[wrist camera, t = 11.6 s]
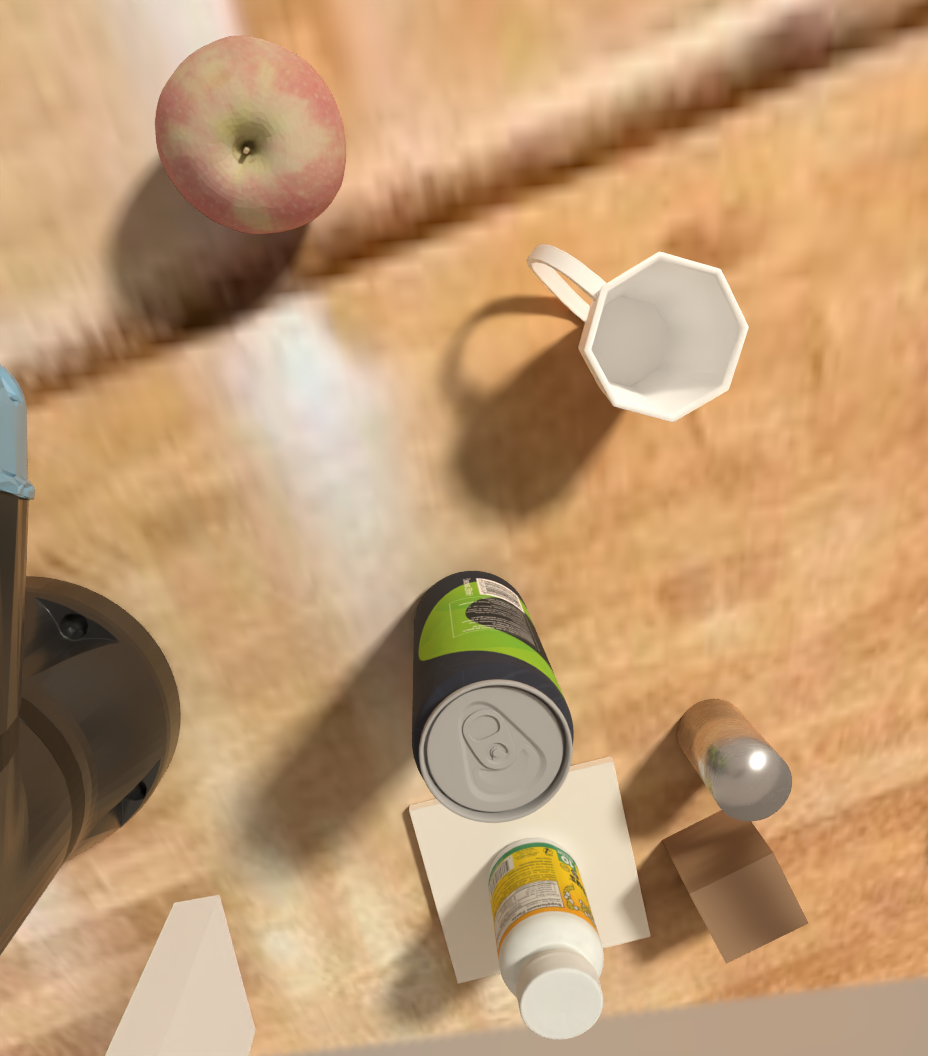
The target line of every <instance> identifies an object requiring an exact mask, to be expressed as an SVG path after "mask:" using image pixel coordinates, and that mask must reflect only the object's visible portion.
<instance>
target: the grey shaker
mask: <svg viewBox="0 0 928 1056" xmlns="http://www.w3.org/2000/svg"><path fill="white" fill-rule="evenodd" d="M677 738H678V743H679V745H680V747H681V749H682V751H683V752H684V754H685V755H686V757H687V758H688V760H689V761H690V763H691V764H692V766H693V767H694V769H695V770H696V772H697V773H698V775H699V776H700V778H701V779H702V781H703V782H704V784H705V785H706V787H707V788H708V790H709V791H710V793H711V794H712V796H713V797H714V799H715V801H716V802H717V804H718V805H719V807H720V808H721V809H722V810H723V811H724V812H725V813H726V814H727V815H729V816H730V817H732V818H734V819H737V820H741V821H757V820H761V819H764V818H767V817H769V816H771V815H772V814H774V813H775V812H777V811H778V810H779V809H780V808H781V807H782V806H783V805H784V803H785V802H786V800H787V799H788V796H789V794H790V791H791V787H792V776H791V772H790V770H789V767H788V766H787V764H786V763H785V761H784V760H783V759H782V758H781V757H780V756H779V755H778V753H777V752H776V751H775V750H774V749H773V748H772V747H771V746H770V745H769V743H768V742H767V741H766V740H765V739H764V738H763V737H762V736H761V734H760V733H759V732H758V731H757V730H756V729H755V728H754V727H753V726H752V724H751V723H750V722H749V721H748V720H747V719H746V718H745V717H744V715H743V714H742V713H741V712H740V711H739V710H738V709H737V708H736V707H735V706H734V705H732V704H731V703H729V702H727V701H724V700H719V699H709V700H704V701H701V702H699V703H697V704H695V705H693V706H692V707H691V708H689V709H688V710H687V711H686V712H685V714H684V715H683V716H682V718H681V720H680V722H679V725H678V729H677Z"/></svg>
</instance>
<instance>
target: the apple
mask: <svg viewBox="0 0 928 1056" xmlns="http://www.w3.org/2000/svg"><path fill="white" fill-rule="evenodd" d="M155 131H156V143H157V149H158V153H159V156H160V159H161V162H162V164H163V166H164V168H165V170H166V172H167V174H168V176H169V178H170V179H171V181H172V182H173V184H174V185H175V186H176V188H177V189H178V190H179V192H180V193H181V194H182V195H183V197H184V198H185V199H186V200H187V201H188V202H190V203H191V204H192V205H193V206H194V207H195V208H197V209H198V210H199V211H201V212H202V213H203V214H204V215H206V216H207V217H208V218H210V219H211V220H213V221H215V222H217V223H219V224H221V225H223V226H226V227H228V228H231V229H234V230H236V231H240V232H244V233H248V234H267V233H278V232H284V231H288V230H292V229H295V228H299V227H301V226H303V225H305V224H307V223H309V222H310V221H312V220H314V219H315V218H317V217H318V216H319V215H320V214H321V213H322V212H323V211H325V210H326V209H327V207H328V206H329V205H330V204H331V202H332V201H333V199H334V198H335V196H336V194H337V193H338V191H339V189H340V187H341V184H342V181H343V176H344V170H345V163H346V140H345V133H344V127H343V122H342V118H341V115H340V112H339V109H338V107H337V104H336V102H335V100H334V97H333V95H332V93H331V91H330V90H329V88H328V86H327V85H326V84H325V82H324V81H323V79H322V78H321V77H320V75H319V74H318V73H317V72H316V70H315V69H314V68H313V67H312V66H311V65H310V64H309V63H308V62H306V61H305V60H304V59H302V58H301V57H300V56H298V55H297V54H295V53H293V52H292V51H290V50H288V49H286V48H284V47H282V46H280V45H277V44H275V43H272V42H269V41H266V40H263V39H260V38H255V37H249V36H229V37H226V38H223V39H220V40H217V41H214V42H212V43H210V44H208V45H206V46H203V47H202V48H200V49H198V50H197V51H195V52H194V53H192V54H191V55H190V56H188V57H187V58H186V59H185V60H184V61H183V62H182V63H181V64H180V65H179V67H178V68H177V69H176V70H175V72H174V73H173V74H172V76H171V77H170V79H169V80H168V82H167V83H166V85H165V86H164V88H163V90H162V92H161V95H160V97H159V101H158V105H157V110H156V118H155Z"/></svg>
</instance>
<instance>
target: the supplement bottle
mask: <svg viewBox="0 0 928 1056" xmlns="http://www.w3.org/2000/svg"><path fill="white" fill-rule="evenodd" d="M488 887H489V895H490V902H491V909H492V916H493V923H494V931H495V938H496V946H497V953H498V961H499V967H500V972H501V975H502V978H503V980H504V982H505V984H506V986H507V987H508V989H509V990H510V991H511V992H512V993H513V994H514V995H515V996H516V997H517V1000H518V1004H519V1009H520V1013H521V1017H522V1019H523V1021H524V1023H525V1024H526V1025H527V1027H528V1028H529V1029H530V1030H532V1031H533V1032H534V1033H536V1034H538V1035H540V1036H542V1037H544V1038H549V1039H556V1040H558V1039H561V1040H562V1039H569V1038H572V1037H575V1036H578V1035H580V1034H582V1033H584V1032H585V1031H587V1030H588V1029H589V1028H591V1027H592V1026H593V1025H594V1024H595V1022H596V1021H597V1019H598V1018H599V1016H600V1014H601V1011H602V1007H603V995H602V990H601V986H600V982H599V978H600V975H601V972H602V968H603V962H604V955H603V947H602V943H601V940H600V937H599V934H598V930H597V927H596V924H595V921H594V918H593V915H592V911H591V908H590V905H589V901H588V899H587V895H586V892H585V889H584V885H583V882H582V879H581V876H580V873H579V870H578V867H577V864H576V862H575V860H574V858H573V857H572V855H571V854H570V853H569V852H568V851H567V850H566V849H564V848H563V847H562V846H560V845H559V844H557V843H556V842H554V841H552V840H548V839H544V838H540V837H536V838H526V839H522V840H519V841H516V842H513V843H511V844H510V845H508V846H507V847H506V848H504V849H503V850H502V851H501V852H500V853H499V854H498V855H497V857H496V858H495V860H494V861H493V863H492V865H491V868H490V871H489V877H488Z"/></svg>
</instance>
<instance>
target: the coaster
mask: <svg viewBox="0 0 928 1056" xmlns="http://www.w3.org/2000/svg"><path fill="white" fill-rule="evenodd" d="M409 812H410V815H411V819H412V823H413V826H414V830H415V833H416V837H417V840H418V844H419V847H420V851H421V854H422V858H423V862H424V865H425V869H426V872H427V876H428V879H429V883H430V886H431V890H432V894H433V897H434V901H435V904H436V908H437V911H438V915H439V918H440V922H441V926H442V929H443V933H444V936H445V940H446V943H447V947H448V950H449V954H450V957H451V961H452V965H453V968H454V972H455V975H456V979H457V982H458V984H460V983H464V982H468V981H472V980H476V979H480V978H484V977H488V976H492V975H496V974H500V973H501V972H500V967H499V961H498V953H497V946H496V938H495V931H494V923H493V916H492V909H491V902H490V895H489V887H488V877H489V871H490V868H491V865H492V863H493V861H494V860H495V858H496V857H497V855H498V854H499V853H500V852H501V851H502V850H503V849H504V848H506V847H507V846H508V845H510V844H511V843H513V842H516V841H519V840H522V839H526V838H536V837H540V838H544V839H548V840H552V841H554V842H556V843H557V844H559V845H560V846H562V847H563V848H564V849H566V850H567V851H568V852H569V853H570V854H571V855H572V857H573V858H574V860H575V862H576V864H577V867H578V870H579V873H580V876H581V879H582V882H583V885H584V889H585V892H586V895H587V899H588V901H589V905H590V908H591V911H592V915H593V918H594V921H595V924H596V927H597V930H598V934H599V937H600V940H601V943H602V947H603V948H606V947H611V946H615V945H619V944H623V943H627V942H631V941H635V940H639V939H643V938H647V937H651V936H650V931H649V926H648V922H647V917H646V912H645V908H644V903H643V898H642V894H641V889H640V884H639V879H638V875H637V870H636V865H635V861H634V856H633V851H632V847H631V842H630V837H629V833H628V828H627V823H626V819H625V814H624V809H623V805H622V800H621V795H620V791H619V786H618V781H617V777H616V772H615V767H614V763H613V760H612V758H611V756H609V757H605V758H601V759H597V760H593V761H589V762H585V763H581V764H577V765H572V766H570V769H569V772H568V775H567V777H566V779H565V781H564V783H563V785H562V786H561V788H560V789H559V791H558V792H557V793H556V794H555V796H554V797H553V798H552V799H551V800H550V801H549V802H548V803H546V804H545V805H544V806H543V807H541V808H540V809H538V810H537V811H535V812H533V813H531V814H529V815H527V816H525V817H522V818H520V819H516V820H513V821H508V822H501V823H485V822H478V821H474V820H470V819H467V818H464V817H461V816H459V815H457V814H455V813H453V812H452V811H450V810H449V809H447V808H446V807H445V806H443V805H442V804H441V803H440V802H439V801H438V800H437V799H433V800H429V801H425V802H421V803H417V804H413V805H409Z"/></svg>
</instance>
